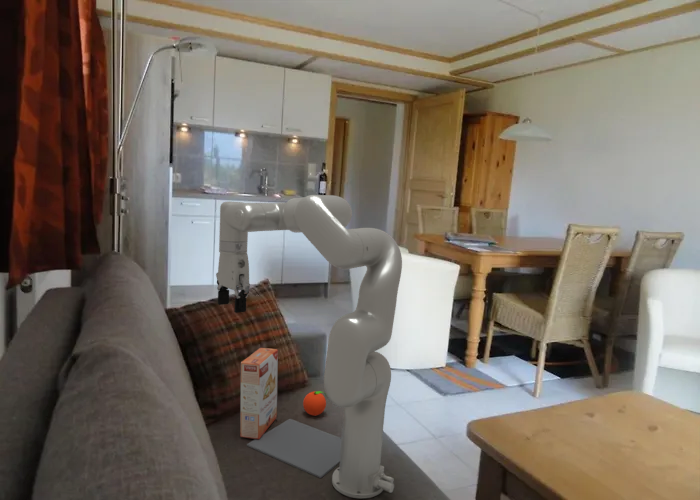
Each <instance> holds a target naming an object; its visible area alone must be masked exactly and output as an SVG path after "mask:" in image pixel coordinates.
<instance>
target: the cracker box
mask: <svg viewBox="0 0 700 500" xmlns="http://www.w3.org/2000/svg"><path fill="white" fill-rule="evenodd" d="M278 353H279V350H278V349H276V348H268V347H259V348H258V349H256V350H255V351H254V352H253V353H252V354H249V356H248V357H247V358H245V359H243V360H242V361H241V362H240V416H239V417H240V431H239V433H240V438H247V439H253V440H255V439H260V438H261V436H262V435H263V434H265V433H266V432H267V430H268V429H269V427H270V426H271V425H272V424H273V423H274V421H275V420H276V419H277V415H278V411H277V410H278V362H279V361H278V359H279V358H278V357H279V355H278Z"/></svg>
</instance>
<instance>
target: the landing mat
mask: <svg viewBox="0 0 700 500" xmlns="http://www.w3.org/2000/svg"><path fill="white" fill-rule="evenodd" d="M246 446H247V447H249V448H250V449H252V450H255V451H258V452H259V453H263V454H264V455H267V456H269V457H270V458H271V457H272V458H274V459H275V460H278V461H279V462H280V461H281V462H282V463H284V464H288V465H289V466H291V467H294V468H296V469H298V470H300V471H303V472H305V473H308V474H310V475H312V476H314V477H317V478H318V479H322V478H323V477H324V476H326V475H327V474H328V473H329V472H331V471H332V470H333V469H334V468H335V467H336V466H338V464H339V465H340V451H341V436H337V435H334V434H332V433H329V432H326V431H324V430H321V429H319V428H316V427H313V426H312V425H311V426H310V425H308V424H305V423H302V422H301V421H298V420H294V419H292V418H289V419H287V420H285V421H284V422H282V423H280V424H279V425H277V426H275V427H273V428H271V429H270V430H268V431H265V433H264V434H263V435H262V436H261V438H260V439H253V440H251V441H250V442H249V443H248V442H247V444H246Z"/></svg>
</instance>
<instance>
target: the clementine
mask: <svg viewBox="0 0 700 500" xmlns="http://www.w3.org/2000/svg"><path fill="white" fill-rule="evenodd" d="M324 395H325V396H324ZM326 396H327V395H326V392H324V391H321V390H319V391H317V390H316V391H310V392H309V393H307V394H306V395H305V397H304V398H303V402H302V405H303V406H302V408H303V409H304V411H305V412H306V413H307V414H308V415H310V416H319V415H321V414H322V413H323V412H325V409H326V405H327V399H326Z"/></svg>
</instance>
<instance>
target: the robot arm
mask: <svg viewBox="0 0 700 500" xmlns="http://www.w3.org/2000/svg"><path fill="white" fill-rule="evenodd" d="M352 215H353V210H352V206H351V204H349V202H348V201H347V200H346V199H345V198H343V197H342V196H338V195H333V194H329V195H328V194H325V195H324V194H310V195H306V196H304V197H294V198H290V199H289V200H287V202H241V201H223V202H222V203H221V204H220V207H219V238H218V239H219V242H218V243H219V244H218V253H219V257H218V267H217V272H216V273H215V276H216V284H217V288H216V289H217V304H218V305H219V306H223V305H229V303H230V290H232V291H234V293H235V296H236V297H234V313H235V314H238V313H245V312H247V298H248V296H249V295H248V294H249V292H250V287H251V284H250V265H249V264H250V262H249V256H248V238H249V237H248V235H249V233H253V232H255V233H256V232H272V231H290V232H292V233H302V234H303V235H304V236H305V238H306V239H307V240H308V241H309V242H310V243H311V245H313V246H314V248H315V249H316V250H317V251H318V252H319V253H320V254H321V256H322V257H323V258H324V259H325V260H326V261H327V262H328V263H329V265H332V266H333V267H335V268H337V269H340V270H350V269H351V270H352V269H355V268H356V269H357V268H361V267H366V271H365V274H364V276H363V278H362V280H361V283H360V285H359V291H358V299H357V303H356V308H355V310H354V311H353V312H352V311H351V312H350V313H347V314H345V315H342V316H339V318H338V319H337V320H336V321H335V322H334V323H333V325H332V327H331V329H330V333H329V336H328V342H327V351H326V357H325V358H326V359H325V366H324V373H323V387H324V391H325V392H324V393H325V394H326V395H325V396H326V398H328V400H329V401H330V403H332V404H333V405H335V406H336V407H337V408H343V411H342V425H341V436H340V438H341V451H340V463H339V467H337V468H336V469H335V470H334V471H333V472H332V475H331V485H333V487H334V489H335V490H336V491H337V492H338V493H340V494H342V495H344V496H346V497H348V498H353V499H358V500H359V499H363V500H364V499H371V498H373V497H377V496H378V495H380V494H381V493H382V492H383V491H385V492H388V493H393V491H394V488H395V484H394V480H395V479H394V477H391V476H389V475H387V474H385V466H384V465H382V464H381V460H382V448H383V446H382V445H383V438H384V437H383V436H384V435H383V433H384V425H385V412H386V411H385V410H386V403H387V399H388V395H389V391H390V387H391V381H392V367H391V365H390V363H389V361H388V359H387V357H386V356H384V355H383V354H382V353H380V352H378V350H380V349H382V348H384V347H385V346H386V345H388V344H389V343H390V341H391V338H392V333H393V329H394V322H395V321H394V320H395V314H396V309H397V307H396V306H397V301H398V300H397V299H398V293H399V292H398V291H399V286H400V281H401V276H402V271H403V270H402V268H403V257H402V252H401V249H400V247H399V244H397V241H396V240H395V238H393V237H392V236H391V235H390V234H389V233H387V232H386V231H384V230H382V229H380V228H374V227H359V228H347V226H349V224H350V222H351V220H352V217H353V216H352ZM229 289H230V290H229Z"/></svg>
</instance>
